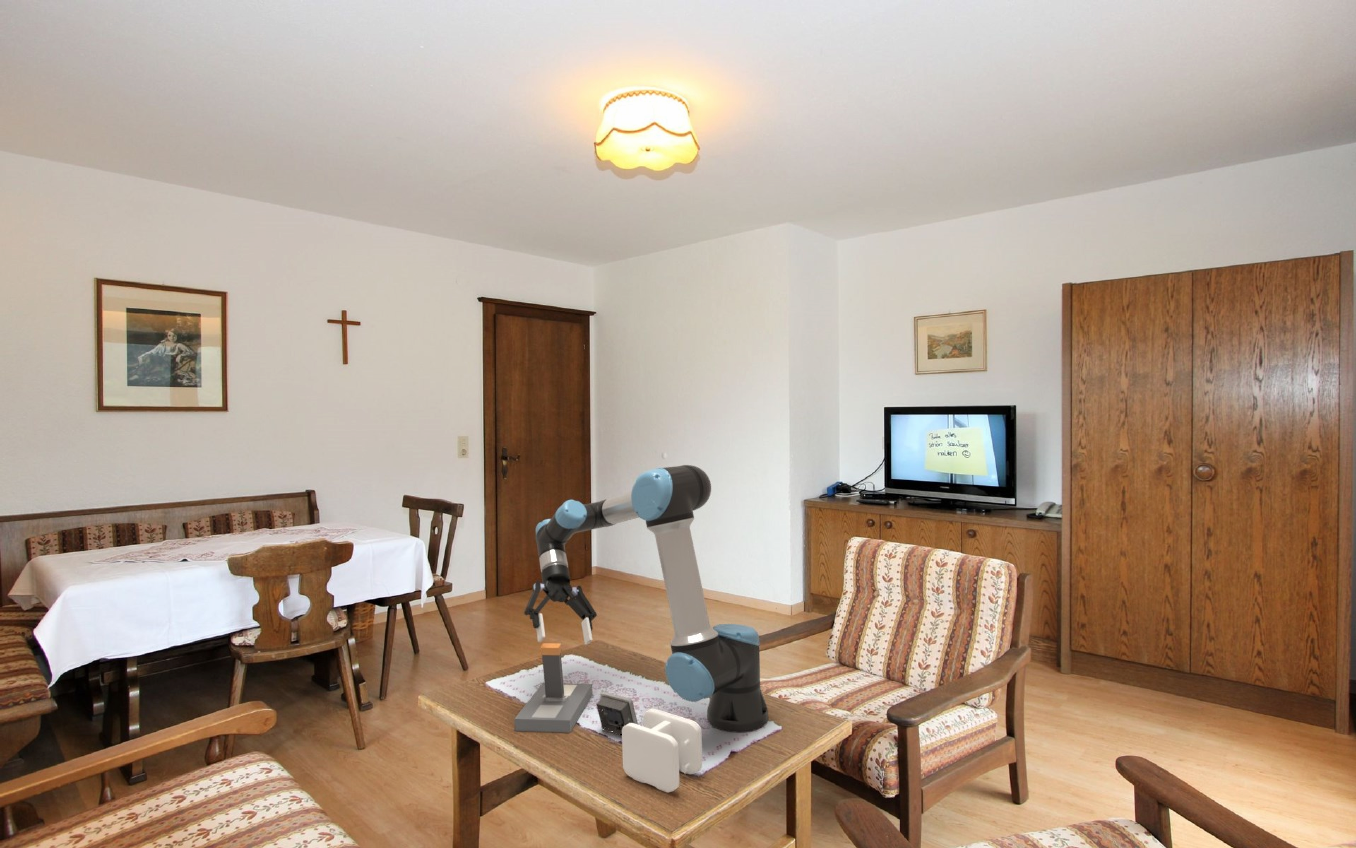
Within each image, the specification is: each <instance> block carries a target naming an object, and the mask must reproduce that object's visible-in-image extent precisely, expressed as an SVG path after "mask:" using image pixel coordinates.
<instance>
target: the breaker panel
mask: <svg viewBox="0 0 1356 848" xmlns="http://www.w3.org/2000/svg"><path fill="white" fill-rule="evenodd" d="M563 685H564V696H563V698H546V695H545V683H544V682H542V683H541V685H540V686H539V687H538V688H537V689H536V691H535V692H534V693H533V695H532V696H531V697H530V698H529V700H528V701H527V703H525V705H524V706H523V707H522V708H521V709H520V711H519V712H518V713H517V715H515V717H514V719H513V721H514V722H513V724H514V732H537V733H538V732H540V733H564V734H567V733H568V734H569V733H572V730H573V729H574V727H575V726H576V724H577V722H578V720H579V718H580V717H581V715H582V714H583V712H584V710H585V709H586V707H587V706H588V704H589V702H590V700H591V698H592V696H593V694H594V693H593V683H567V682H566V683H565V682H563ZM581 713H582V714H581Z"/></svg>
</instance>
